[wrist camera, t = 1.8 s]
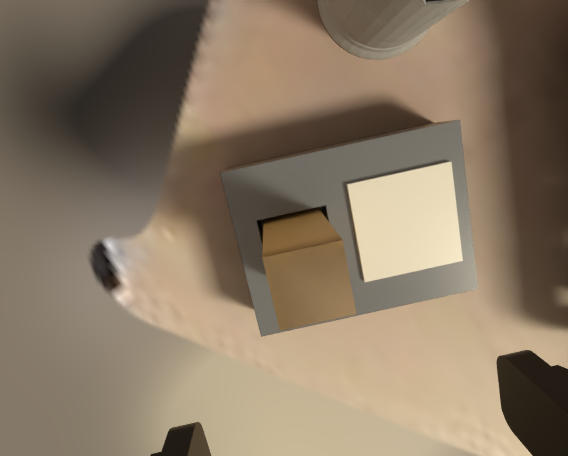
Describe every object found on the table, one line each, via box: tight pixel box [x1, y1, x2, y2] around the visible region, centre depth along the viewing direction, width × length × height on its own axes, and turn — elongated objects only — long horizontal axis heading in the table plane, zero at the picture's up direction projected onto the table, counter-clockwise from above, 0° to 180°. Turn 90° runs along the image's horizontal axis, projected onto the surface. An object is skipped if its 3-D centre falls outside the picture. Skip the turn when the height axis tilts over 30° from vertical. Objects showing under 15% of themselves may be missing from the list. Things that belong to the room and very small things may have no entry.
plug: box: [262, 207, 356, 331], centre depth 25 cm, size 4×4×11 cm
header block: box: [220, 120, 478, 337], centre depth 28 cm, size 12×16×4 cm
